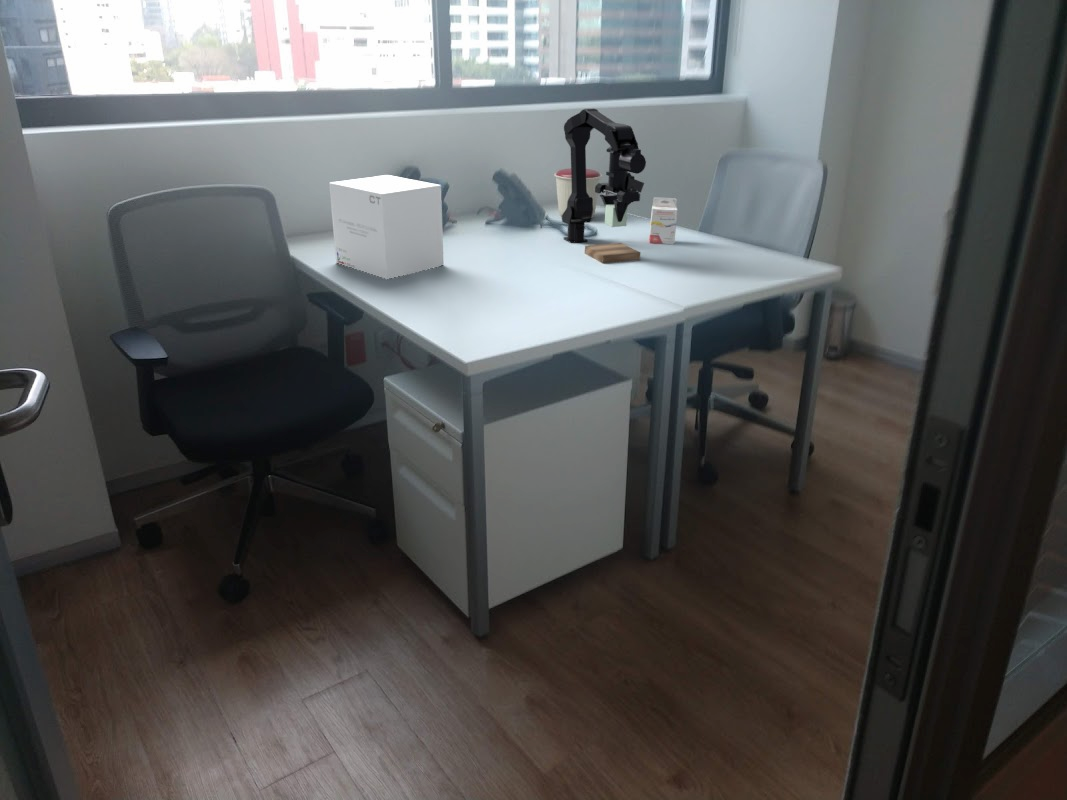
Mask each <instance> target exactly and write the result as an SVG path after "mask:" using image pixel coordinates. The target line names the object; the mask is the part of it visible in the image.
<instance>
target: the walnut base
mask: <svg viewBox="0 0 1067 800" xmlns="http://www.w3.org/2000/svg"><path fill="white" fill-rule="evenodd" d="M584 254H585V255H587V256H588V257H590V258H592V259H594V260H596V261H597V262H599V263H601V264H612V263H621V262H622V263H624V262H632V261H640V260H641V251H639V250H637V249H634V248H632V247H630V246H628V245H626V244H624V243H622V242H616V243H603V244H590V245H584Z"/></svg>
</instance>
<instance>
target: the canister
mask: <svg viewBox="0 0 1067 800" xmlns="http://www.w3.org/2000/svg"><path fill="white" fill-rule="evenodd" d="M553 176H554V177H555V182H556V183H555V186H556V196H557V205H558V213H559V216H560V217H561V218H562V215H563V213H564V211H565V210H566V208H567V201H568V199H569V197H570V195H571V193H572V179H571V168H563V169H559V170H558V171H557V172H555V173H554V174H553ZM602 177H603V175H602V174H601V173H600V171H597V170H595V169H591V168H586V187H587V193H588V195H589V197H592V199H593V213H592V217H591V219H593V218H594V216H595V214H596V213H595V212H596V208H597V203H598V197H599V193H596V192H595V186H596V185H597V184H598V183H601V178H602Z"/></svg>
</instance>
